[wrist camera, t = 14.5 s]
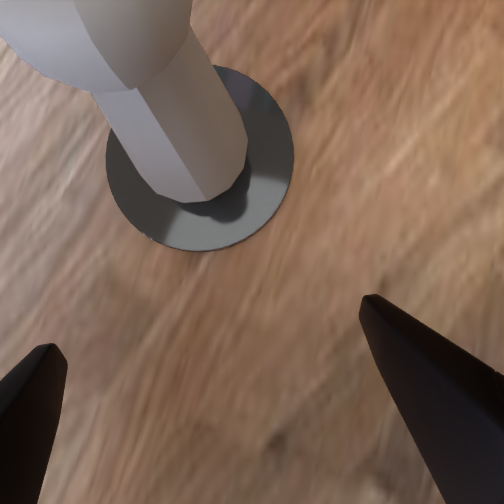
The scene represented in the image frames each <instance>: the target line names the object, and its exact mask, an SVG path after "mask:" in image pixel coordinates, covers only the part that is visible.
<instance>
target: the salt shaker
mask: <svg viewBox="0 0 504 504" xmlns="http://www.w3.org/2000/svg"><path fill="white" fill-rule="evenodd" d="M192 2H193V0H0V36H1V37H2V39H3V40H4V41H5V42H6V43H7V44H8V45H9V46H10V48H11V49H12V50H13V51H14V52H15V53H16V54H17V55H18V56H19V58H20V59H22V60H23V61H24V62H26V63H27V64H28V65H30V66H31V67H32V68H34V69H35V70H36V71H38V72H39V73H40V74H42V75H43V76H45V77H48V78H50V79H53V80H56V81H59V82H62V83H64V84H67V85H70V86H73V87H75V88H78V89H81V90H84V91H87V92H89V93H91V95H92V96H93V98H94V100H95V101H96V103H97V105H98V106H99V108H100V110H101V111H102V113H103V115H104V116H105V118H106V119H107V121H108V123H109V124H110V126H111V128H112V129H113V131H114V133H115V134H116V136H117V138H118V139H119V141H120V143H121V144H122V146H123V148H124V149H125V151H126V153H127V154H128V156H129V158H130V159H131V161H132V163H133V164H134V166H135V168H136V169H137V171H138V173H139V174H140V175H141V176H142V178H143V179H144V180H145V181H146V182H147V183H148V184H149V185H150V187H151V188H152V189H153V190H154V191H155V192H156V193H157V194H160V195H163V196H165V197H168V198H171V199H173V200H176V201H179V202H182V203H189V202H202V201H209V200H211V199H213V198H214V197H216V196H218V195H219V194H221V193H223V192H224V191H226V190H228V189H230V187H231V186H232V184H233V183H234V181H235V180H236V179H237V177H238V176H239V174H240V173H241V171H242V170H243V168H244V164H245V157H246V150H247V144H248V137H247V134H246V131H245V128H244V124H243V121H242V118H241V115H240V113H239V111H238V109H237V108H236V106H235V104H234V102H233V100H232V99H231V97H230V95H229V93H228V92H227V90H226V88H225V86H224V85H223V83H222V81H221V79H220V77H219V76H218V74H217V72H216V70H215V69H214V67H213V65H212V63H211V61H210V60H209V58H208V56H207V54H206V53H205V51H204V49H203V47H202V46H201V44H200V42H199V40H198V38H197V37H196V35H195V33H194V31H193V30H192V28H191V26H190V24H189V22H190V16H191V9H192Z"/></svg>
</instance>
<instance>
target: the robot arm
mask: <svg viewBox="0 0 504 504" xmlns="http://www.w3.org/2000/svg"><path fill="white" fill-rule="evenodd" d="M359 320H360V323H361V326H362V328H363V331H364V334H365V336H366V339H367V342H368V344H369V347H370V350H371V352H372V355H373V358H374V360H375V363H376V365H377V368H378V370H379V372H380V374H381V376H382V378H383V380H384V382H385V384H386V386H387V388H388V390H389V392H390V394H391V396H392V398H393V400H394V402H395V404H396V406H397V408H398V410H399V412H400V414H401V416H402V418H403V420H404V422H405V423H406V425H407V427H408V429H409V431H410V433H411V435H412V437H413V439H414V441H415V443H416V445H417V447H418V449H419V451H420V453H421V455H422V457H423V459H424V461H425V463H426V465H427V467H428V469H429V471H430V473H431V475H432V477H433V479H434V481H435V483H436V485H437V487H438V489H439V491H440V493H441V495H442V497H443V499H444V501H445V503H446V504H504V375H502V374H501V373H499V372H497V371H496V372H495V370H494V369H493V368H491V367H490V366H488V365H487V364H485V363H484V362H482V361H480V360H479V359H477V358H476V357H474V356H473V355H471V354H470V353H468V352H467V351H465V350H463V349H462V348H460V347H459V346H457V345H456V344H454V343H453V342H451V341H450V340H448V339H446V338H445V337H443V336H442V335H440V334H439V333H437V332H436V331H434V330H432V329H431V328H429V327H428V326H426V325H425V324H423V323H422V322H420V321H419V320H417V319H415V318H414V317H412V316H411V315H409V314H408V313H406V312H405V311H403V310H402V309H400V308H398V307H397V306H395V305H394V304H392V303H391V302H389V301H388V300H386V299H385V298H383V297H381V296H380V295H378V294H371V295H365V296H364V297H363V298H362V302H361V306H360V311H359ZM67 369H68V364H67V360H66V358H65V357H64V355H63V354H62V352H61V351H60V349H59V348H58V346H57V345H56V344H54V343H49V344H43V345H39V346H37V347H35V348H34V349H33V350H32V351H31V352H30V353H29V354H28V355H27V356H26V357H25V358H24V359H23V360H21V361H20V362H19V363H18V364H17V365H16V366H15V367H14V368H13V369H12V370H11V371H10V372H9V373H8V374H7V375H6V376H5V377H4V378H3V379H2V380H0V504H37V502H38V499H39V495H40V491H41V487H42V484H43V480H44V476H45V473H46V469H47V465H48V462H49V458H50V454H51V451H52V447H53V443H54V439H55V436H56V432H57V428H58V424H59V419H60V414H61V408H62V401H63V395H64V389H65V382H66V376H67Z"/></svg>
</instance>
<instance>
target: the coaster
mask: <svg viewBox="0 0 504 504" xmlns="http://www.w3.org/2000/svg"><path fill="white" fill-rule="evenodd" d="M213 67H214V69H215V70H216V72H217V74H218V76H219V77H220V79H221V81H222V83H223V85H224V86H225V88H226V90H227V92H228V93H229V95H230V97H231V99H232V100H233V102H234V104H235V106H236V108H237V109H238V111H239V113H240V115H241V118H242V121H243V124H244V128H245V131H246V134H247V137H248V144H247V150H246V157H245V164H244V168H243V170H242V171H241V173H240V174H239V176H238V177H237V179H236V180H235V181H234V183H233V184H232V186H231V187H230V189H228V190H226V191H224V192H223V193H221V194H219V195H218V196H216V197H214V198H213V199H211V200H209V201H202V202H189V203H182V202H179V201H176V200H173V199H171V198H168V197H165V196H163V195H160V194H157V193H156V192H155V191H154V190H153V189H152V188H151V187H150V185H149V184H148V183H147V182H146V181H145V180H144V179H143V178H142V176H141V175H140V174H139V173H138V171H137V169H136V168H135V166H134V164H133V163H132V161H131V159H130V158H129V156H128V154H127V153H126V151H125V149H124V148H123V146H122V144H121V143H120V141H119V139H118V138H117V136H116V134H115V133H114V131H113V129H112V128H111V130H110V133H109V138H108V142H107V149H106V171H107V178H108V182H109V185H110V189H111V192H112V194H113V197H114V199H115V201H116V203H117V205H118V206H119V208H120V210H121V211H122V213H123V214H124V215H125V217H126V218H127V219H128V220H129V222H130V223H131V224H132V225H134V226H135V227H136V228H137V229H138V230H139V231H140V232H142V233H143V234H144V235H146V236H147V237H148V238H150V239H152V240H154V241H156V242H158V243H160V244H162V245H165V246H168V247H170V248H174V249H179V250H183V251H193V252H207V251H214V250H220V249H224V248H227V247H230V246H233V245H235V244H238V243H240V242H242V241H244V240H246V239H247V238H249V237H250V236H252V235H254V234H255V233H256V232H257V231H259V230H260V229H261V228H262V227H263V226H264V225H265V224H266V223H267V222H268V221H269V220H270V219H271V218H272V217H273V215H274V214H275V212H276V211H277V210H278V208H279V207H280V205H281V203H282V201H283V199H284V197H285V195H286V192H287V190H288V187H289V184H290V180H291V176H292V172H293V162H294V151H293V142H292V136H291V132H290V129H289V126H288V123H287V120H286V118H285V116H284V114H283V112H282V110H281V109H280V107H279V106H278V104H277V103H276V101H275V100H274V99H273V98H272V96H271V95H270V94H269V93H268V92H267V91H266V90H265V89H264V88H263V87H262V86H260V85H259V84H258V83H257V82H255V81H254V80H252V79H251V78H249V77H248V76H246V75H244V74H242V73H240V72H238V71H235V70H232V69H229V68H226V67H221V66H216V65H213Z"/></svg>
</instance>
